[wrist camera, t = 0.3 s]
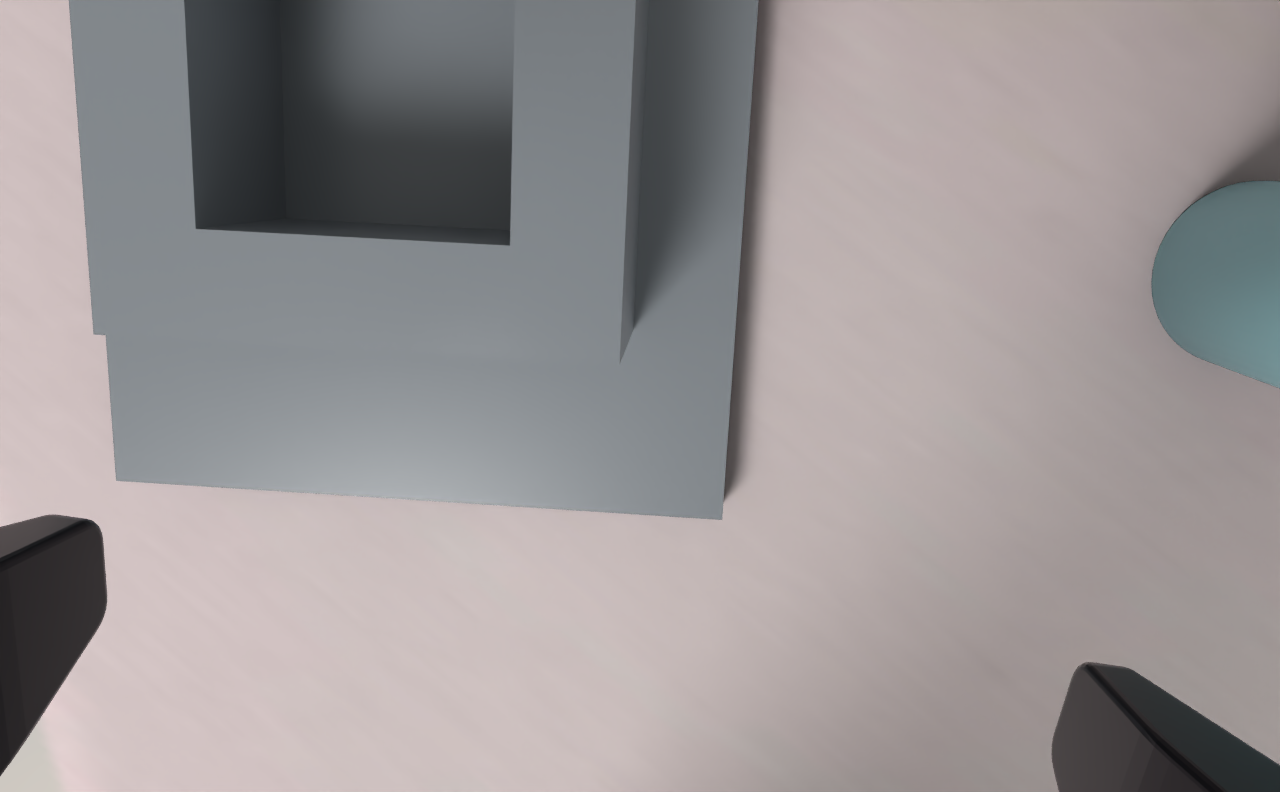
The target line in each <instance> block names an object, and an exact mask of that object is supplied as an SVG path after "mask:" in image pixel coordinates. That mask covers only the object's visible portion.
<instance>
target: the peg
mask: <svg viewBox="0 0 1280 792" xmlns="http://www.w3.org/2000/svg"><path fill="white" fill-rule="evenodd" d="M1152 297H1153V302H1154V307H1155V310H1156V313H1157V316H1158V318H1159V320H1160V322H1161V324H1162V326H1163V327H1164V329H1165V330H1166V332H1167V333H1168V334H1169V336H1170V337H1171V338H1172V339H1173V340H1174V341H1175V342H1176V343H1177V344H1178V345H1179V346H1180V347H1182V348H1183V349H1184V350H1186V351H1187V352H1189V353H1191V354H1192V355H1194V356H1196V357H1198V358H1200V359H1203V360H1205V361H1208V362H1211V363H1213V364H1216V365H1219V366H1221V367H1224V368H1227V369H1229V370H1232V371H1235V372H1237V373H1240V374H1243V375H1245V376H1248V377H1251V378H1253V379H1256V380H1259V381H1262V382H1264V383H1267V384H1270V385H1272V386H1275V387H1278V388H1280V181H1248V182H1241V183H1236V184H1233V185H1229V186H1225V187H1223V188H1221V189H1218V190H1216V191H1213V192H1212V193H1210V194H1208V195H1206V196H1204V197H1202V198H1201V199H1200V200H1198V201H1197V202H1195V203H1194V204H1193V205H1191V206H1190V207H1189V208H1188V209H1187V210H1186V211H1185V212H1184V213H1182V214H1181V216H1180V217H1179V218H1178V219H1177V220H1176V221H1175V222H1174V224H1173V225H1172V226H1171V228H1170V229H1169V231H1168V232H1167V234H1166V235H1165V237H1164V239H1163V241H1162V243H1161V245H1160V247H1159V250H1158V253H1157V255H1156V258H1155V262H1154V267H1153V272H1152Z"/></svg>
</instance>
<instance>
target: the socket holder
mask: <svg viewBox="0 0 1280 792" xmlns="http://www.w3.org/2000/svg"><path fill="white" fill-rule="evenodd" d="M758 1H759V0H69V10H70V23H71V37H72V50H73V63H74V77H75V90H76V104H77V117H78V131H79V144H80V157H81V171H82V184H83V198H84V211H85V225H86V238H87V251H88V265H89V278H90V292H91V305H92V319H93V332H94V334H96V335H106V346H107V360H108V374H109V388H110V402H111V415H112V429H113V443H114V457H115V471H116V481H128V482H144V483H159V484H175V485H190V486H206V487H221V488H237V489H252V490H268V491H283V492H299V493H314V494H330V495H345V496H361V497H376V498H392V499H407V500H422V501H438V502H453V503H469V504H484V505H500V506H515V507H531V508H546V509H562V510H577V511H593V512H608V513H624V514H639V515H655V516H670V517H686V518H701V519H717V520H722V513H723V499H724V485H725V471H726V456H727V442H728V428H729V414H730V400H731V385H732V371H733V357H734V343H735V328H736V314H737V300H738V286H739V272H740V257H741V243H742V229H743V215H744V200H745V186H746V172H747V158H748V143H749V129H750V115H751V101H752V87H753V72H754V58H755V44H756V30H757V15H758Z"/></svg>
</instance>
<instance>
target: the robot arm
mask: <svg viewBox="0 0 1280 792" xmlns="http://www.w3.org/2000/svg"><path fill="white" fill-rule="evenodd" d="M106 606H107V586H106V573H105V559H104V546H103V537H102V532H101V530H100V528H99V526H98V525H97V524H96V523H95V522H94V521H92V520H88V519H83V518H76V517H69V516H62V515H45V516H41V517H37V518H33V519H30V520H26V521H22V522H18V523H14V524H10V525H6V526H2V527H0V776H1V774H2V773H3V772H4V770H5V769H6V768H7V766H8V765H9V764H10V763H11V761H12V760H13V758H14V757H15V755H16V754H17V752H18V751H19V750H20V748H21V746H22V745H23V744H24V742H25V741H26V739H27V738H28V736H29V735H30V733H31V732H32V730H33V729H34V727H35V726H36V724H37V722H38V721H39V719H40V718H41V716H42V715H43V713H44V712H45V710H46V709H47V707H48V705H49V704H50V702H51V701H52V699H53V698H54V696H55V695H56V693H57V691H58V690H59V688H60V687H61V685H62V684H63V682H64V681H65V679H66V678H67V676H68V674H69V673H70V671H71V670H72V668H73V667H74V665H75V664H76V662H77V660H78V659H79V657H80V656H81V654H82V653H83V651H84V650H85V648H86V647H87V645H88V643H89V642H90V640H91V639H92V637H93V636H94V634H95V633H96V631H97V629H98V628H99V626H100V624H101V622H102V620H103V617H104V614H105V611H106ZM1052 762H1053V768H1054V772H1055V777H1056V781H1057V785H1058V790H1059V792H1280V765H1279V764H1277V763H1276V762H1274V761H1272V760H1271V759H1269V758H1268V757H1266V756H1265V755H1263V754H1262V753H1260V752H1259V751H1257V750H1255V749H1254V748H1252V747H1251V746H1249V745H1248V744H1246V743H1245V742H1243V741H1242V740H1240V739H1238V738H1237V737H1235V736H1234V735H1232V734H1231V733H1229V732H1228V731H1226V730H1225V729H1223V728H1221V727H1220V726H1218V725H1217V724H1215V723H1214V722H1212V721H1211V720H1209V719H1208V718H1206V717H1204V716H1203V715H1201V714H1200V713H1198V712H1197V711H1195V710H1194V709H1192V708H1191V707H1189V706H1187V705H1186V704H1184V703H1183V702H1181V701H1180V700H1178V699H1177V698H1175V697H1174V696H1172V695H1170V694H1169V693H1167V692H1166V691H1164V690H1163V689H1161V688H1160V687H1158V686H1157V685H1155V684H1153V683H1152V682H1150V681H1149V680H1147V679H1146V678H1144V677H1143V676H1141V675H1140V674H1138V673H1136V672H1135V671H1133V670H1131V669H1129V668H1126V667H1122V666H1114V665H1107V664H1100V663H1093V662H1085V663H1083V664H1082V665H1080V666H1078V668H1077V669H1076V671H1075V672H1074V674H1073V676H1072V679H1071V682H1070V685H1069V688H1068V692H1067V695H1066V698H1065V701H1064V704H1063V707H1062V710H1061V714H1060V717H1059V720H1058V723H1057V726H1056V729H1055V732H1054V736H1053V742H1052Z"/></svg>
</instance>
